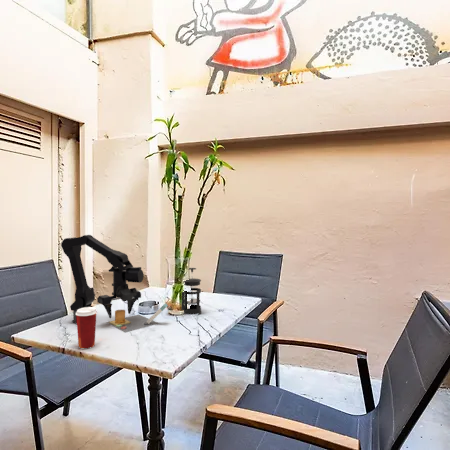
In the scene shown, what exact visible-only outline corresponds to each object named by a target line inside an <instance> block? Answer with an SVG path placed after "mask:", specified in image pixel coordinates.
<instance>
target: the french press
mask: <svg viewBox="0 0 450 450" xmlns="http://www.w3.org/2000/svg"><path fill="white" fill-rule="evenodd" d="M188 270H190V271H191V273H193V272H194V270H197V268H196V267H189V269H188ZM188 279H189V280H186V281H183V285H184V286H186V287H190V288H191V290H190V291H188V292H187V291H184V290H183V289H182V290H183V291H184V292H183V291H181V310H182V311H183V310H184V313H183V314H185V315H197V316H199V315H201V314H202V306H201V305H200V303H201V299H200V294H202V293H201V292H202V289H201V288H198V287H197V286H200V285H201V281H202V280H201V279H200V278H193V277H191V278H188ZM184 282H185V284H184ZM187 294H188V295H196V298H193V297H191V298H190V299H191V300H190V301H187ZM187 304H188V305H190V304H191V306H190V309H187Z"/></svg>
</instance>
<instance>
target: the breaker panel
mask: <svg viewBox="0 0 450 450" xmlns="http://www.w3.org/2000/svg"><path fill="white" fill-rule="evenodd" d="M149 319H150V318H148V317H146V316H143V315H141V314H136V315H132V316H127V317H126V316H125V322H124V323H115V319H114V320H111V321H105V323H106V324H108V325H110V326H111V327H113V328H116V329H117V330H119V331H121V332H123V333H129V332H133V331H136V330H140V329H144V328H148V327H152V326H154V325H155V326H156V325H159V324H160V322H157V321H156V320H154V319H153V320H152V321H151V322H150V323H149V324H148V323H147V322H146V321H148V320H149Z"/></svg>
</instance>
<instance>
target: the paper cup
mask: <svg viewBox="0 0 450 450" xmlns="http://www.w3.org/2000/svg"><path fill="white" fill-rule="evenodd" d="M97 313H98V310H97V308H96V307H94V306H93V307H92V306H90V307H85V308H80V309H78V310H77V312H76V314H75V315H76V317H77V324H76V327H77V328H76V329H77V330H76V331H77V340H78V341H77V342H78V344H77V345H78V348H79V347H80V348H79V349H81V348H87V349H91V348H93V347H94V346H95V343H96V327H97V326H96V325H97ZM90 347H91V348H90Z"/></svg>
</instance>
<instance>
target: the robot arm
mask: <svg viewBox="0 0 450 450" xmlns="http://www.w3.org/2000/svg"><path fill="white" fill-rule="evenodd" d="M85 245H86V246H87V247H89V248H90V249H92V250H94V251H95V252H97V253H98V254H100V255H102V256H103V257H104V258H105V259H106V260H107V262H108V263H109V264H110V265H111V267H110V268H109V269H108V272H109V273H110V272H113V273H112V275H113V276H112V277H113V278H112V279H113V280H112V283H111V287H112V288H113V289H112V293H111V295H112V296H111V295H107V294H104V295H98V297H97V299H96V298H95V297H96V294H95V291H94V290H95V289H94V287H91V286H89V285H88V282H87V278H86V274H85V270H84V266H83V262H82V258H81V253H82V246H85ZM60 246H61V249H62V252H63V254H65V256H67V258H68V260H69V264H70V269H71V273H72V275H73V279H74V284H75V288H76V289H75V293H74V301H73V302H72V303H71V305H70V306H69V308H70V310H71V311H72V314H73V315H72V316H73V318H72V320H71V322H73V324H75V325H77V317H76V315H75V314H76V312H77V310H78V309H80V308H85V307H92V304H93V303H94V301H95V299H96V301H97V304H100V305H101V306H102V305H103V307H104V308H105V311H106V313H107V316H108V318H109V319H111V318H112V306H113V303H112V301H115V300H116V301H117V300H121V301H122V302H127V313H128V314H129V315H130V314H131V312H132V309H133V307H134V305H135V302H137V301H138V300H139V299H141V298H142V293H141V291H140V290H138V289H137V288H136V287H132V288H130V287H129V284H128V283H142V282H143V280H144V277H145V276H144V272H143V270H142V267H141V266H138V267H135V266H134V265H133V264H132V263H131V261H130V259H129V257H128V255H127V253H125V252H122V251H119V250H116V249H113V248H111V247H109V246H108V245H106V244H105V243H103V242H102V241H101V240H99V239H96V238H95V237H94V236H93V235H91V234H85V235H81V236H79V237H77V236H74V237H66V238H64V239H63V240H62V241H61V243H60ZM127 282H128V283H127Z"/></svg>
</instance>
